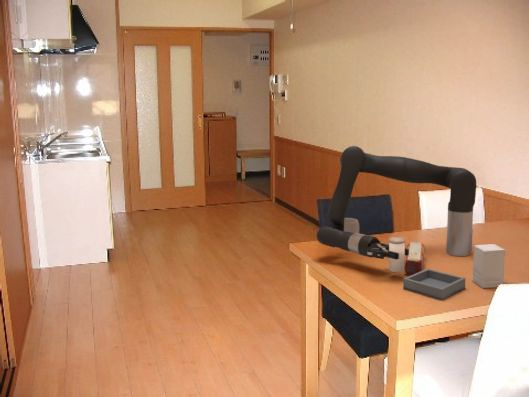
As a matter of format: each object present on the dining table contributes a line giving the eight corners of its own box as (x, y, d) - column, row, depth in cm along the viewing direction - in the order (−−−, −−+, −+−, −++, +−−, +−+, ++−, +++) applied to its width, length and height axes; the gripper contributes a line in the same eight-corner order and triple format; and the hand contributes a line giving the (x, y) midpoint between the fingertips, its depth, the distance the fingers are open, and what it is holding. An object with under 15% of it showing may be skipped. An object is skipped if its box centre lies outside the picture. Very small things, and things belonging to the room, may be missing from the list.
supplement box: (503, 287, 178) (506, 249, 175) (481, 288, 177) (483, 251, 175) (492, 279, 185) (494, 243, 182) (471, 280, 184) (473, 244, 182)
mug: (350, 250, 222) (350, 223, 220) (333, 246, 228) (333, 220, 226) (366, 243, 231) (367, 218, 229) (350, 240, 237) (350, 215, 234)
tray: (427, 278, 188) (427, 268, 187) (465, 288, 178) (465, 278, 177) (403, 288, 179) (403, 278, 178) (441, 300, 169) (442, 289, 168)
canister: (394, 266, 192) (395, 236, 190) (407, 269, 188) (407, 238, 186) (385, 269, 189) (386, 239, 187) (398, 273, 185) (398, 242, 183)
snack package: (422, 277, 190) (423, 258, 188) (403, 275, 192) (403, 257, 190) (424, 258, 209) (425, 241, 208) (406, 257, 211) (407, 240, 210)
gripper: (350, 239, 193) (390, 248, 180) (375, 231, 202) (415, 239, 189) (350, 259, 194) (390, 270, 182) (375, 250, 203) (415, 260, 191)
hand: (403, 254), depth 186 cm, fingers closed on canister, 5 cm apart
